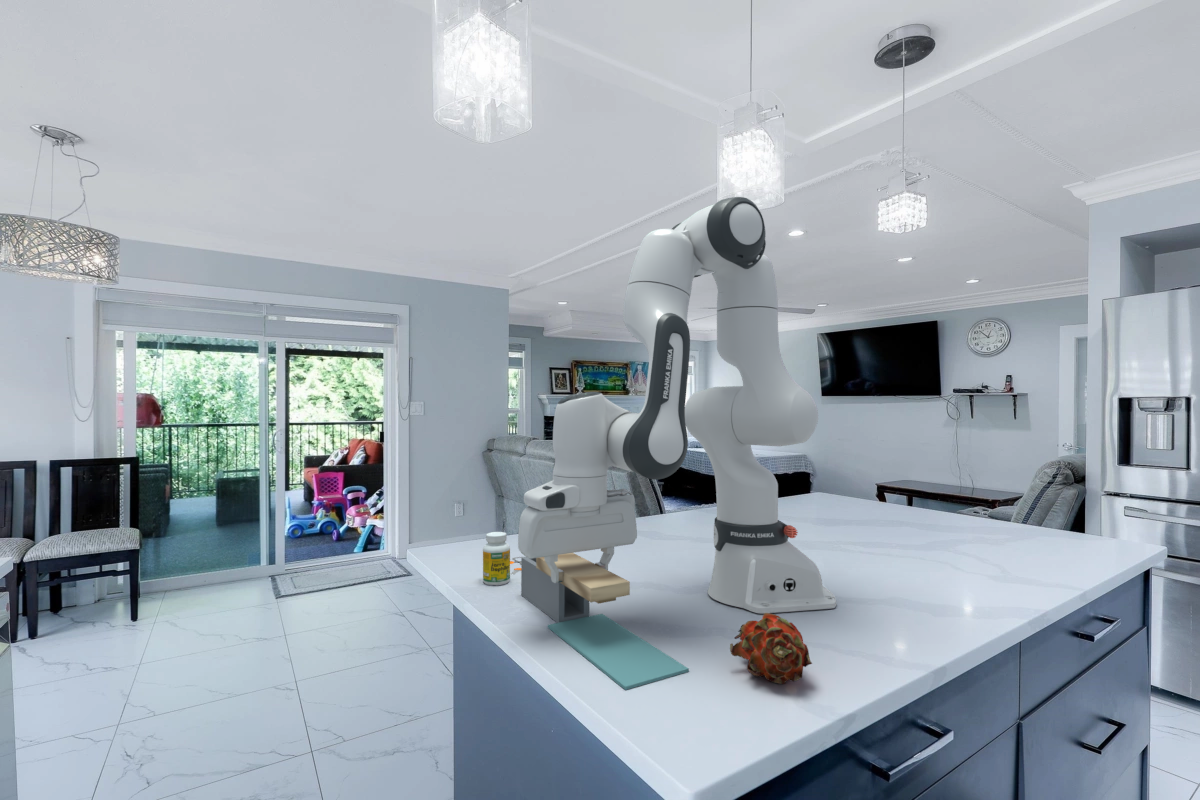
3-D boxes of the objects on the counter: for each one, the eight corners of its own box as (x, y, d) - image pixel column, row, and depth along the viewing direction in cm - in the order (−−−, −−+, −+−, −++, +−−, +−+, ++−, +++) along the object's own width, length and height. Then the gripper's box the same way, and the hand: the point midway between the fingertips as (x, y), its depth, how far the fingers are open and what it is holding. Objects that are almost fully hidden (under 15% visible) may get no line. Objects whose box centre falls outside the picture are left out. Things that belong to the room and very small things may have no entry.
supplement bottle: (503, 576, 118) (503, 529, 118) (514, 583, 114) (514, 534, 114) (478, 580, 115) (478, 532, 115) (489, 587, 111) (489, 538, 111)
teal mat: (688, 671, 76) (688, 668, 76) (625, 690, 71) (625, 686, 71) (602, 616, 96) (602, 613, 96) (547, 627, 91) (547, 624, 91)
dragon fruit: (798, 714, 69) (743, 683, 80) (840, 662, 72) (781, 639, 83) (757, 660, 68) (707, 636, 79) (801, 609, 71) (747, 593, 82)
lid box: (589, 617, 96) (589, 575, 96) (558, 623, 93) (558, 580, 93) (548, 590, 109) (548, 553, 109) (521, 595, 107) (521, 557, 107)
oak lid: (629, 600, 86) (629, 581, 86) (590, 607, 82) (590, 588, 83) (570, 567, 103) (570, 551, 103) (536, 572, 100) (536, 556, 100)
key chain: (498, 560, 131) (498, 557, 131) (529, 557, 134) (529, 554, 134) (508, 576, 119) (508, 572, 119) (543, 573, 122) (543, 569, 122)
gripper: (624, 485, 101) (624, 564, 101) (514, 494, 91) (514, 582, 90) (644, 490, 95) (644, 573, 95) (529, 500, 85) (529, 593, 85)
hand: (579, 578), depth 93 cm, fingers closed on oak lid, 7 cm apart
